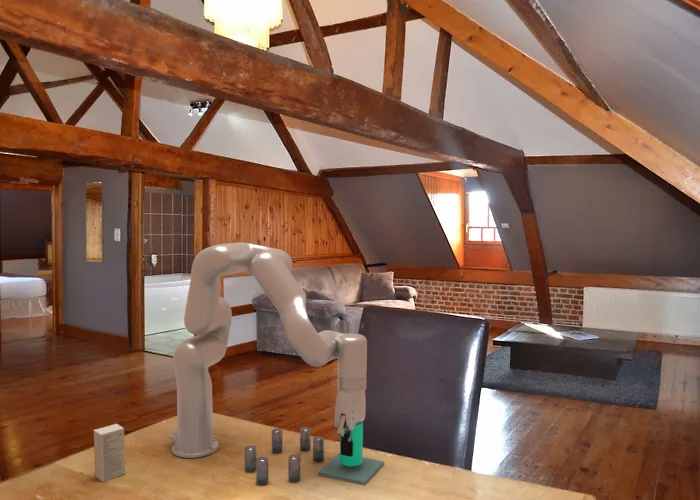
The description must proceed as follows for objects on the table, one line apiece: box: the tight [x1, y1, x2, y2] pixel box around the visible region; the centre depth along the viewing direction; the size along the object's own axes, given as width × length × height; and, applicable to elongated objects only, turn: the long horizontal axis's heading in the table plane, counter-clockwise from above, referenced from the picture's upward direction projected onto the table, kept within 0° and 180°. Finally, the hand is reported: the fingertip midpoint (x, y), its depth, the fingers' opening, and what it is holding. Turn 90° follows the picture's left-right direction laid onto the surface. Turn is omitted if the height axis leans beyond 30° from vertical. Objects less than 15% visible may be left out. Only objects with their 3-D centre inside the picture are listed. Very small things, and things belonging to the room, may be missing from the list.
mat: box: [317, 452, 385, 486], centre depth 151 cm, size 13×13×1 cm
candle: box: [339, 422, 364, 466], centre depth 150 cm, size 6×6×12 cm
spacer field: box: [244, 426, 325, 486], centre depth 153 cm, size 16×25×6 cm, turn 156°
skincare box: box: [93, 423, 126, 482], centre depth 146 cm, size 6×4×12 cm
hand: (351, 450), depth 151 cm, fingers closed on candle, 4 cm apart
